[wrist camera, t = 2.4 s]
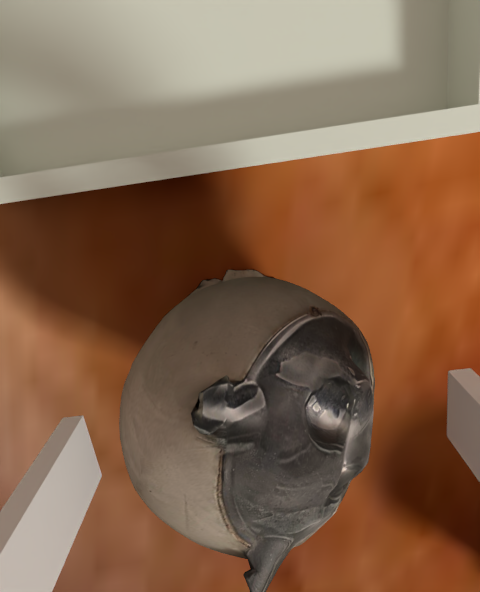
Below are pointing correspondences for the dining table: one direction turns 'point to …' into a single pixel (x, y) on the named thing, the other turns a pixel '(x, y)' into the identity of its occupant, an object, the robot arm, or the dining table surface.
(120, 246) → the dining table surface
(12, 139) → the serving tray
